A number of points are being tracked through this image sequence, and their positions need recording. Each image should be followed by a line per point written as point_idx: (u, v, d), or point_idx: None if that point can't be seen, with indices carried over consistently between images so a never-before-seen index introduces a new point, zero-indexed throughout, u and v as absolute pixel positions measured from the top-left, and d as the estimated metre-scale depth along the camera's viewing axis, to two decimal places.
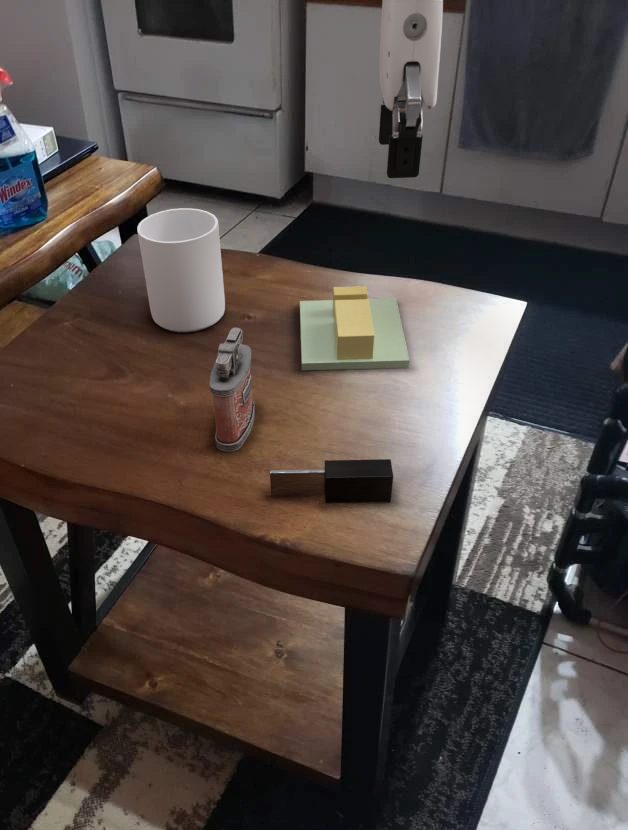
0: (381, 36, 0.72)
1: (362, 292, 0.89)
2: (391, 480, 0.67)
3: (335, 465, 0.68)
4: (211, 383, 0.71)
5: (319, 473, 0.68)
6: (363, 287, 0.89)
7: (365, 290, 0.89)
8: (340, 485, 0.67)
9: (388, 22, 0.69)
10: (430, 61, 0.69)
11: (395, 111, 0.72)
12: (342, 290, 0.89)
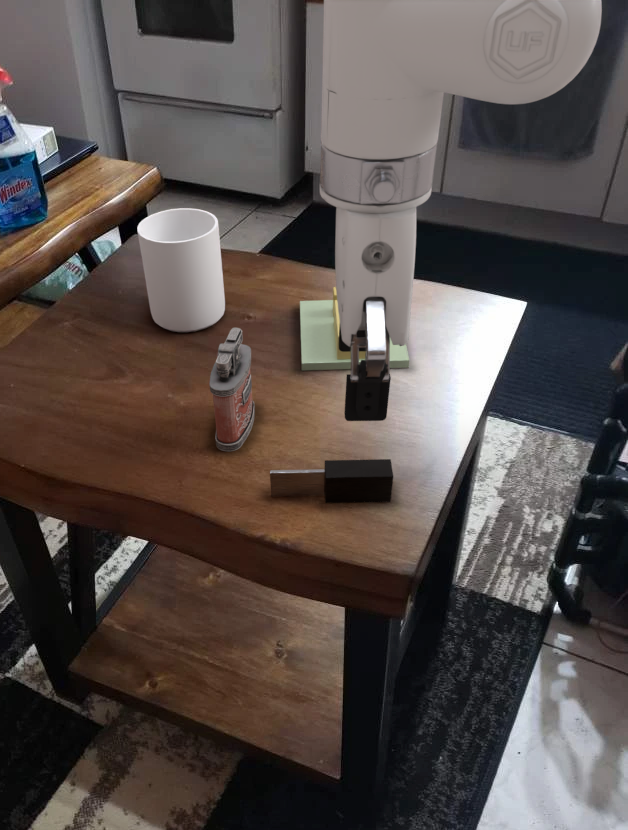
0: None
1: None
2: (391, 480, 0.67)
3: (335, 465, 0.68)
4: (211, 383, 0.71)
5: (319, 473, 0.68)
6: None
7: None
8: (340, 485, 0.67)
9: (342, 245, 0.50)
10: (399, 297, 0.51)
11: (353, 350, 0.54)
12: None
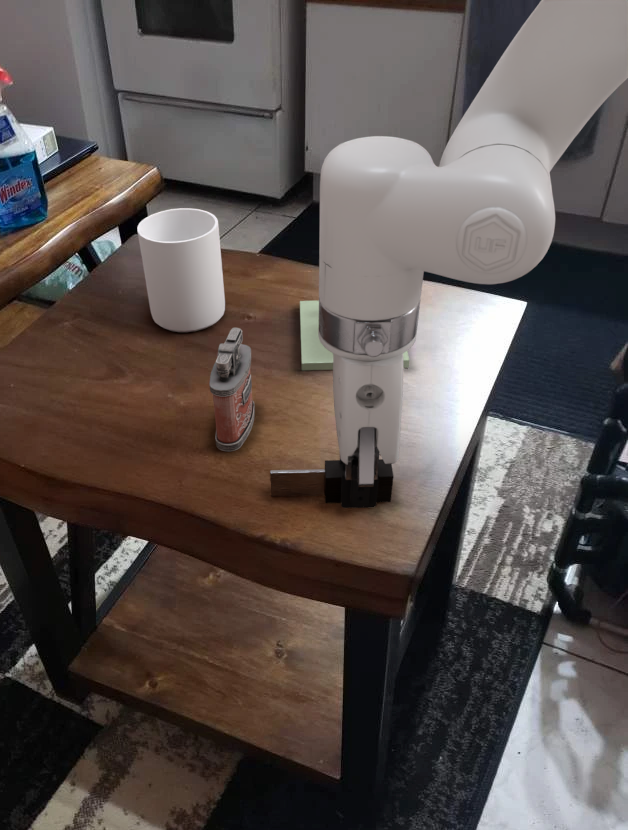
0: (333, 379, 0.61)
1: None
2: (391, 480, 0.67)
3: (336, 465, 0.68)
4: (211, 383, 0.71)
5: (319, 473, 0.68)
6: None
7: None
8: None
9: (338, 383, 0.57)
10: (389, 427, 0.58)
11: (348, 462, 0.63)
12: None
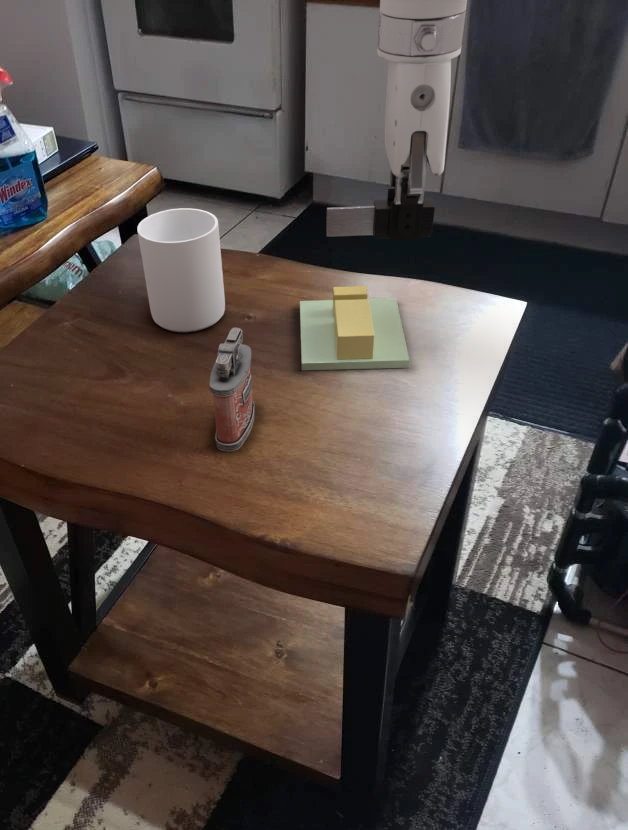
0: (387, 102, 0.71)
1: (362, 292, 0.89)
2: (433, 211, 0.77)
3: (384, 202, 0.78)
4: (211, 383, 0.71)
5: (370, 208, 0.78)
6: (363, 287, 0.89)
7: (365, 290, 0.89)
8: (389, 217, 0.78)
9: (395, 91, 0.68)
10: (438, 131, 0.68)
11: (398, 183, 0.74)
12: (342, 290, 0.89)
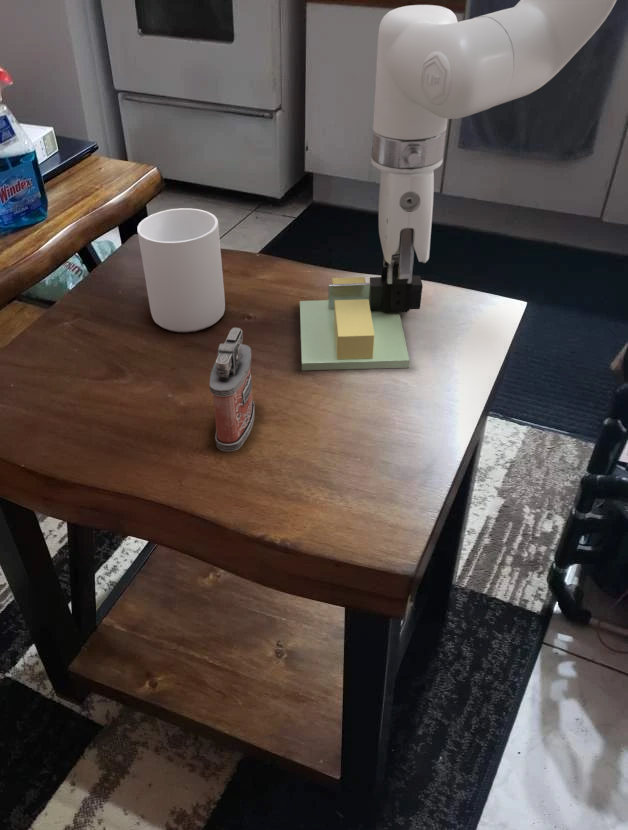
0: (380, 200, 0.83)
1: None
2: (421, 288, 0.89)
3: (378, 280, 0.90)
4: (211, 383, 0.71)
5: (366, 285, 0.90)
6: (361, 278, 0.91)
7: (363, 281, 0.91)
8: (382, 293, 0.89)
9: (386, 195, 0.79)
10: (423, 228, 0.80)
11: (390, 267, 0.85)
12: (340, 281, 0.91)
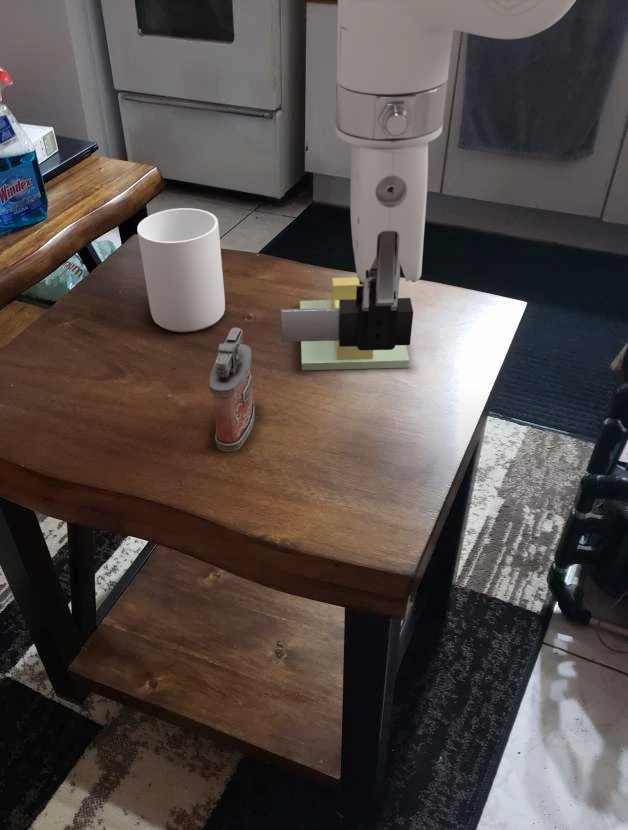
0: None
1: None
2: (411, 317, 0.62)
3: (351, 303, 0.63)
4: (211, 383, 0.71)
5: (334, 311, 0.63)
6: None
7: None
8: (356, 323, 0.63)
9: (357, 181, 0.53)
10: (412, 231, 0.53)
11: (365, 287, 0.59)
12: (340, 281, 0.91)
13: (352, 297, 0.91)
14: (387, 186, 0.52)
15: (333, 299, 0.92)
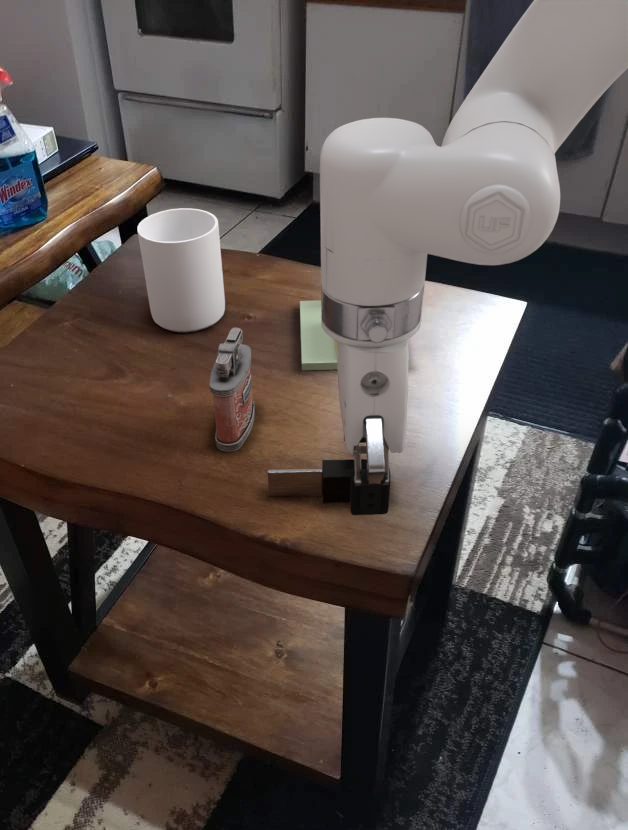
0: (337, 368, 0.60)
1: None
2: None
3: (333, 465, 0.68)
4: (211, 383, 0.71)
5: (317, 472, 0.68)
6: None
7: None
8: (338, 484, 0.67)
9: (343, 371, 0.57)
10: (395, 415, 0.57)
11: (356, 457, 0.60)
12: None
13: None
14: (371, 378, 0.55)
15: None
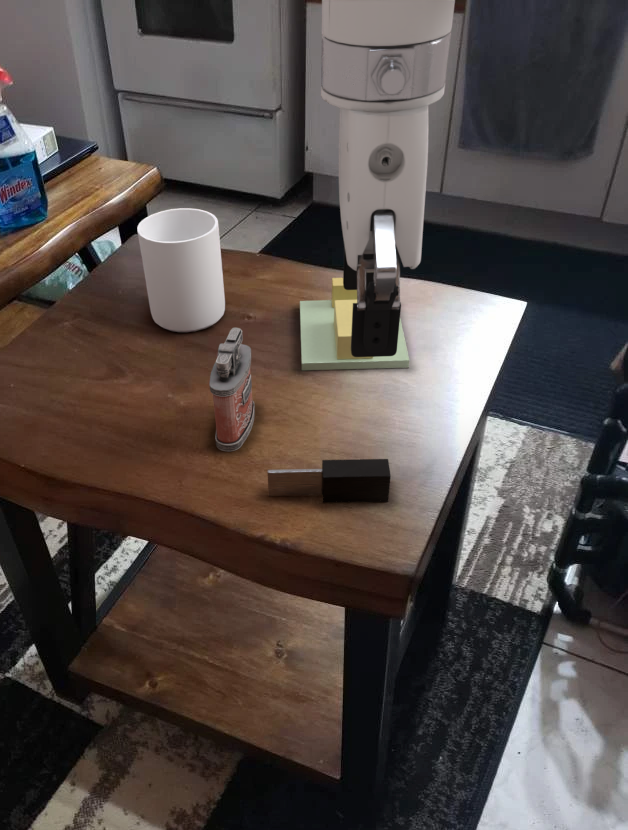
0: (339, 163, 0.49)
1: None
2: (388, 480, 0.67)
3: (333, 465, 0.68)
4: (211, 383, 0.71)
5: (317, 472, 0.68)
6: None
7: None
8: (338, 484, 0.67)
9: (346, 152, 0.46)
10: (410, 209, 0.46)
11: (360, 273, 0.49)
12: (340, 281, 0.91)
13: (352, 297, 0.91)
14: (382, 156, 0.44)
15: (333, 299, 0.92)
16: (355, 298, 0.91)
